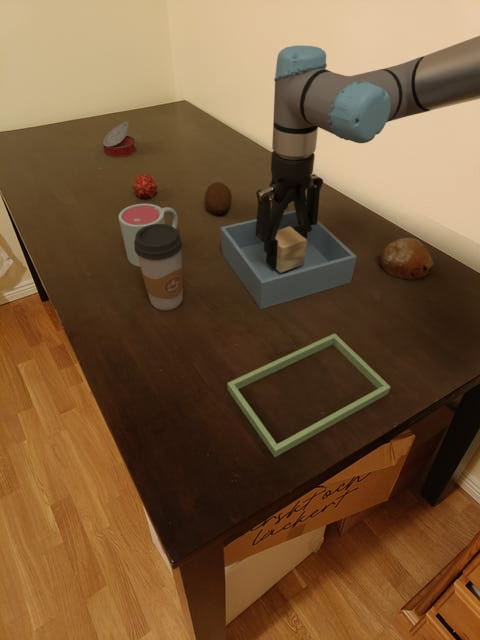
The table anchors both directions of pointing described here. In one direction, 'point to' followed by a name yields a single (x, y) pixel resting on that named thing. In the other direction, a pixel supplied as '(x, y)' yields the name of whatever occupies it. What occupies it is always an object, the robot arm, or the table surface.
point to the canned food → (119, 142)
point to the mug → (141, 224)
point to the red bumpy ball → (144, 186)
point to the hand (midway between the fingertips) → (284, 260)
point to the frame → (322, 424)
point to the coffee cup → (161, 264)
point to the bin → (313, 276)
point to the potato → (218, 198)
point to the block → (289, 249)
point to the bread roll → (406, 259)
